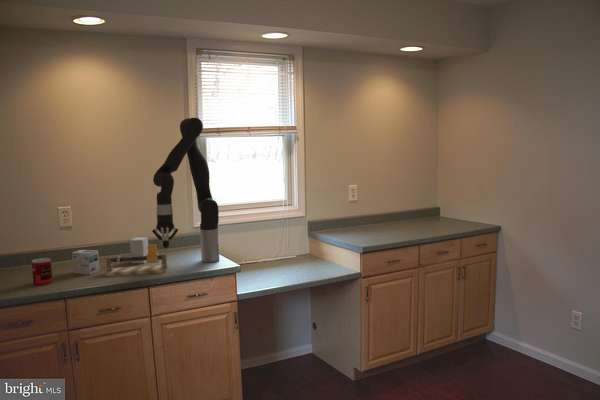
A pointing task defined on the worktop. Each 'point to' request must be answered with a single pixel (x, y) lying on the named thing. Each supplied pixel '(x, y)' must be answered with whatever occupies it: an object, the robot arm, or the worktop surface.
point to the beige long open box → (135, 270)
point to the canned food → (42, 271)
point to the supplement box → (139, 248)
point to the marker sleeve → (152, 254)
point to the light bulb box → (85, 262)
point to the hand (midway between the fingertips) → (166, 247)
